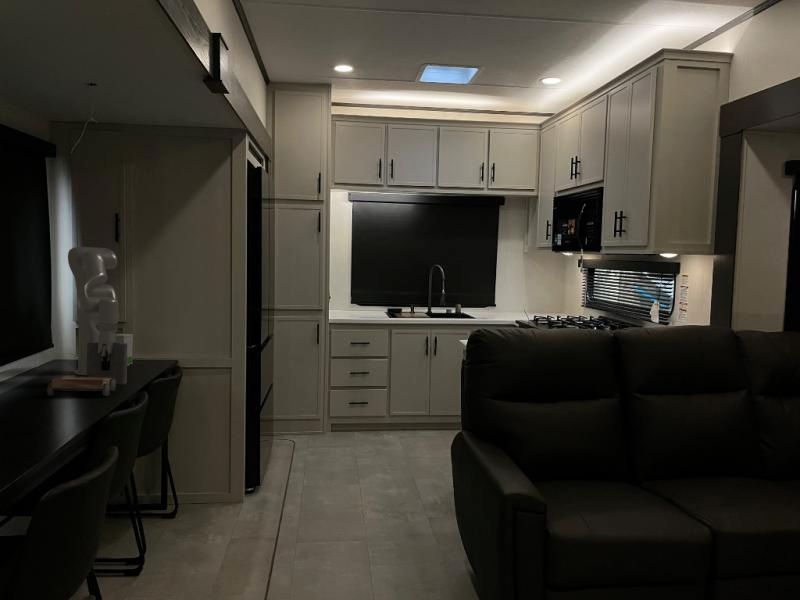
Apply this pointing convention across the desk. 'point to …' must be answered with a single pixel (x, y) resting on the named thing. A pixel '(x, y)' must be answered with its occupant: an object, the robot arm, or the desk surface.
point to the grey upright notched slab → (116, 362)
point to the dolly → (82, 385)
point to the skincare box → (129, 340)
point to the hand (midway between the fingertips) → (107, 368)
